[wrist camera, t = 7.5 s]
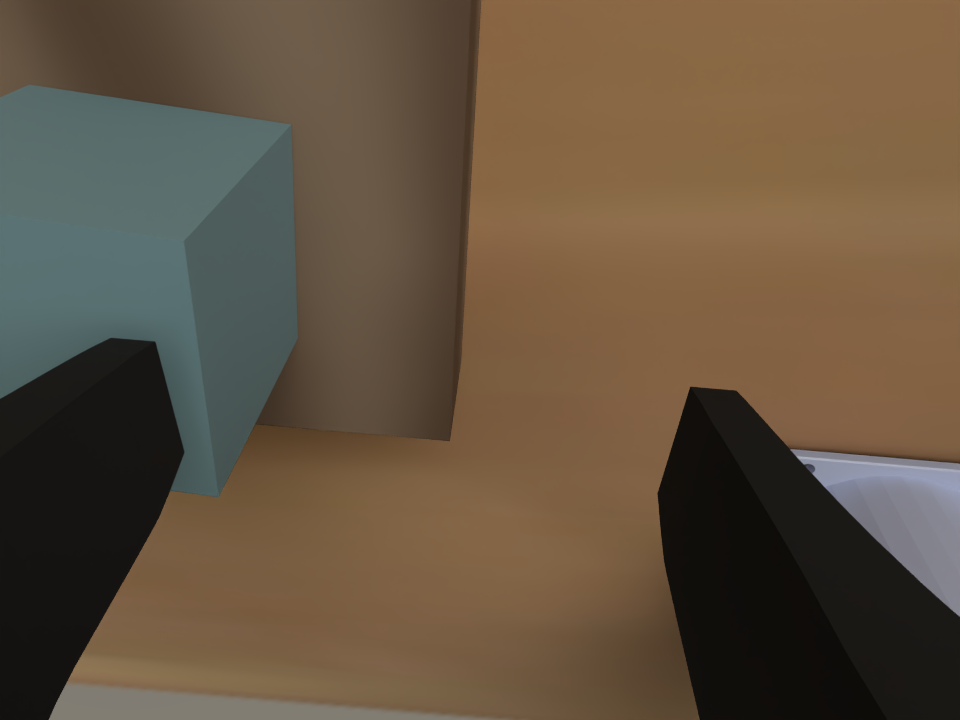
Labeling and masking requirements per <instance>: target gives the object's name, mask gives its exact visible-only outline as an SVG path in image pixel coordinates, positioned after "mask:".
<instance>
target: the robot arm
mask: <svg viewBox="0 0 960 720" xmlns="http://www.w3.org/2000/svg"><path fill="white" fill-rule="evenodd" d="M184 453H185V452H184V448H183V444H182V440H181V437H180V433H179V429H178V425H177V421H176V418H175V414H174V410H173V406H172V402H171V399H170V395H169V391H168V387H167V383H166V380H165V376H164V372H163V368H162V364H161V361H160V357H159V353H158V349H157V345H156V342H155V341H144V340H133V339H121V338H109V339H107V340H105V341H103V342H101V343H99V344H97V345H95V346H93V347H91V348H89V349H87V350H85V351H83V352H82V353H80V354H78V355H76V356H74V357H72V358H71V359H69V360H67V361H65V362H63V363H62V364H60V365H58V366H56V367H55V368H53V369H51V370H49V371H48V372H46V373H44V374H42V375H41V376H39V377H37V378H35V379H34V380H32V381H30V382H29V383H27V384H25V385H23V386H22V387H20V388H18V389H16V390H15V391H13V392H11V393H9V394H8V395H6V396H4V397H2V398H1V399H0V720H49V718H50V715H51V713H52V711H53V709H54V706H55V704H56V702H57V700H58V698H59V696H60V694H61V692H62V690H63V688H64V687H65V685H66V683H67V681H68V679H69V677H70V675H71V673H72V671H73V669H74V667H75V665H76V664H77V662H78V660H79V658H80V657H81V655H82V653H83V651H84V650H85V648H86V646H87V644H88V643H89V641H90V639H91V637H92V636H93V634H94V632H95V630H96V629H97V627H98V625H99V623H100V621H101V620H102V618H103V616H104V614H105V613H106V611H107V609H108V607H109V606H110V604H111V602H112V600H113V599H114V597H115V595H116V593H117V592H118V590H119V588H120V586H121V585H122V583H123V581H124V579H125V578H126V576H127V574H128V572H129V571H130V569H131V567H132V565H133V564H134V562H135V560H136V558H137V556H138V555H139V553H140V551H141V549H142V547H143V546H144V544H145V542H146V540H147V538H148V537H149V535H150V533H151V531H152V529H153V527H154V526H155V524H156V522H157V520H158V518H159V516H160V514H161V511H162V509H163V507H164V504H165V502H166V499H167V497H168V495H169V492H170V490H171V487H172V485H173V482H174V479H175V477H176V474H177V471H178V469H179V466H180V463H181V461H182V458H183V455H184ZM804 464H808V465H806V466H805V465H804ZM658 503H659V515H660V527H661V537H662V546H663V555H664V563H665V568H666V572H667V577H668V582H669V586H670V591H671V595H672V600H673V604H674V609H675V613H676V618H677V622H678V626H679V631H680V635H681V639H682V644H683V648H684V653H685V657H686V661H687V666H688V670H689V674H690V679H691V683H692V687H693V692H694V696H695V701H696V705H697V709H698V714H699V718H700V720H960V464H958V463H947V462H935V461H923V460H912V459H900V458H888V457H877V456H865V455H853V454H842V453H830V452H818V451H807V450H795V449H789V448H788V447H787V446H786V444H785V443H784V442H783V441H782V440H781V439H780V438H779V437H778V436H777V434H776V433H775V432H774V431H773V430H772V429H771V428H770V427H769V426H768V424H767V423H766V422H765V421H764V420H763V419H762V418H761V417H760V416H759V414H758V413H757V412H756V411H755V410H754V409H753V408H752V407H751V406H750V405H749V404H748V402H747V401H746V400H745V399H744V398H743V397H742V396H741V395H740V394H739V393H738V392H737V391H734V390H722V389H710V388H698V387H690V390H689V393H688V396H687V399H686V403H685V406H684V409H683V412H682V416H681V419H680V422H679V425H678V429H677V432H676V435H675V439H674V442H673V445H672V448H671V452H670V455H669V458H668V461H667V465H666V468H665V471H664V474H663V478H662V481H661V484H660V487H659V491H658Z"/></svg>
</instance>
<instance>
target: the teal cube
mask: <svg viewBox="0 0 960 720" xmlns="http://www.w3.org/2000/svg"><path fill="white" fill-rule="evenodd" d="M109 338H121V339H133V340H144V341H155V342H156V345H157V349H158V353H159V357H160V361H161V364H162V368H163V372H164V376H165V380H166V383H167V387H168V391H169V395H170V399H171V402H172V406H173V410H174V414H175V418H176V421H177V425H178V429H179V433H180V437H181V440H182V444H183V448H184V452H185V453H184V455H183V458H182V461H181V463H180V466H179V469H178V471H177V474H176V477H175V479H174V482H173V485H172V487H171V490H170V491H177V492H184V493H192V494H199V495H206V496H213V497H219V496H220V494H221V492H222V489H223V487H224V485H225V483H226V481H227V479H228V477H229V475H230V473H231V471H232V469H233V467H234V465H235V463H236V461H237V459H238V457H239V455H240V453H241V451H242V449H243V447H244V445H245V443H246V441H247V439H248V437H249V435H250V433H251V431H252V429H253V427H254V425H255V423H256V421H257V419H258V417H259V415H260V413H261V411H262V409H263V407H264V405H265V403H266V401H267V399H268V397H269V395H270V393H271V391H272V389H273V387H274V385H275V383H276V381H277V379H278V377H279V375H280V373H281V371H282V369H283V367H284V365H285V363H286V361H287V359H288V357H289V355H290V353H291V351H292V349H293V347H294V345H295V343H296V341H297V339H298V321H297V289H296V256H295V224H294V192H293V159H292V127H291V124H286V123H279V122H272V121H266V120H259V119H253V118H246V117H240V116H233V115H226V114H220V113H213V112H207V111H200V110H193V109H187V108H180V107H174V106H167V105H160V104H154V103H147V102H141V101H134V100H127V99H121V98H114V97H108V96H101V95H94V94H88V93H81V92H75V91H68V90H62V89H55V88H48V87H42V86H35V85H27V86H25V87H23V88H20V89H18V90H16V91H14V92H11V93H9V94H7V95H5V96H2V97H0V399H1V398H2V397H4V396H6V395H8V394H9V393H11V392H13V391H15V390H16V389H18V388H20V387H22V386H23V385H25V384H27V383H29V382H30V381H32V380H34V379H35V378H37V377H39V376H41V375H42V374H44V373H46V372H48V371H49V370H51V369H53V368H55V367H56V366H58V365H60V364H62V363H63V362H65V361H67V360H69V359H71V358H72V357H74V356H76V355H78V354H80V353H82V352H83V351H85V350H87V349H89V348H91V347H93V346H95V345H97V344H99V343H101V342H103V341H105V340H107V339H109Z"/></svg>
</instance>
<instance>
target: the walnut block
mask: <svg viewBox="0 0 960 720" xmlns="http://www.w3.org/2000/svg"><path fill="white" fill-rule="evenodd" d="M480 13H481V0H0V97H2V96H5V95H7V94H9V93H11V92H14V91H16V90H18V89H20V88H23V87H25V86H27V85H35V86H42V87H48V88H55V89H62V90H68V91H75V92H81V93H88V94H94V95H101V96H108V97H114V98H121V99H127V100H134V101H141V102H147V103H154V104H160V105H167V106H174V107H180V108H187V109H193V110H200V111H207V112H213V113H220V114H226V115H233V116H240V117H246V118H253V119H259V120H266V121H272V122H279V123H286V124H291V127H292V159H293V192H294V224H295V256H296V289H297V321H298V339H297V341H296V343H295V345H294V347H293V349H292V351H291V353H290V355H289V357H288V359H287V361H286V363H285V365H284V367H283V369H282V371H281V373H280V375H279V377H278V379H277V381H276V383H275V385H274V387H273V389H272V391H271V393H270V395H269V397H268V399H267V401H266V403H265V405H264V407H263V409H262V411H261V413H260V415H259V417H258V419H257V421H256V423H255V424H258V425H270V426H281V427H293V428H304V429H316V430H327V431H339V432H351V433H362V434H374V435H385V436H397V437H408V438H420V439H431V440H443V441H450V436H451V429H452V422H453V415H454V408H455V401H456V393H457V386H458V379H459V372H460V365H461V354H462V336H463V318H464V300H465V282H466V264H467V246H468V228H469V210H470V192H471V174H472V156H473V138H474V120H475V102H476V84H477V67H478V49H479V31H480Z"/></svg>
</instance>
